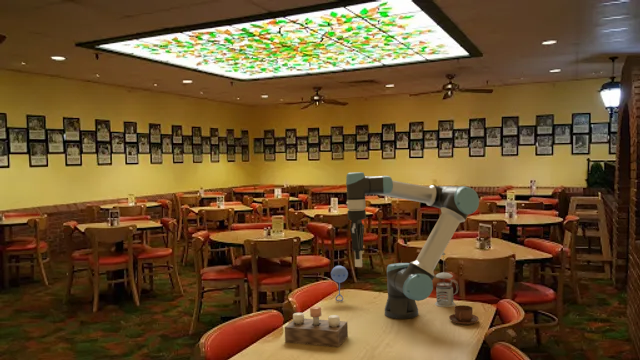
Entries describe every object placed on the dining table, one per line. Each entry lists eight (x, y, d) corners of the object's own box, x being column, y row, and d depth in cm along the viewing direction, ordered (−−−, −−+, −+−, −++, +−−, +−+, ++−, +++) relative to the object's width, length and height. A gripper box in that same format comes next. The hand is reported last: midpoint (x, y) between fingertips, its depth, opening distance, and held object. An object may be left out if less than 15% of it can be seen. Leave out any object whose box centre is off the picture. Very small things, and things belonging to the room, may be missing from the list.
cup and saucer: (480, 326, 201) (479, 312, 201) (450, 326, 204) (449, 311, 203) (477, 318, 213) (476, 304, 213) (448, 317, 215) (448, 303, 215)
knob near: (341, 333, 192) (340, 315, 192) (338, 336, 188) (337, 318, 188) (331, 332, 194) (330, 314, 194) (327, 335, 190) (326, 318, 190)
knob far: (306, 330, 198) (305, 313, 198) (302, 333, 194) (301, 316, 193) (296, 329, 199) (295, 312, 199) (291, 332, 195) (291, 315, 195)
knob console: (347, 336, 196) (347, 321, 196) (338, 347, 184) (337, 331, 184) (297, 332, 203) (296, 317, 203) (285, 342, 192) (284, 327, 192)
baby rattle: (349, 298, 252) (347, 263, 252) (348, 303, 243) (347, 267, 243) (332, 298, 253) (331, 264, 252) (331, 303, 244) (329, 267, 244)
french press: (440, 300, 242) (438, 250, 242) (462, 303, 235) (460, 251, 234) (430, 305, 235) (429, 253, 234) (453, 308, 227) (452, 255, 227)
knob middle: (323, 324, 195) (322, 306, 195) (319, 327, 191) (318, 309, 191) (313, 323, 197) (312, 306, 196) (309, 326, 192) (308, 309, 192)
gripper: (352, 208, 209) (354, 263, 210) (343, 211, 197) (345, 269, 198) (369, 208, 207) (371, 263, 207) (361, 211, 194) (363, 270, 195)
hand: (358, 266), depth 202 cm, fingers closed
